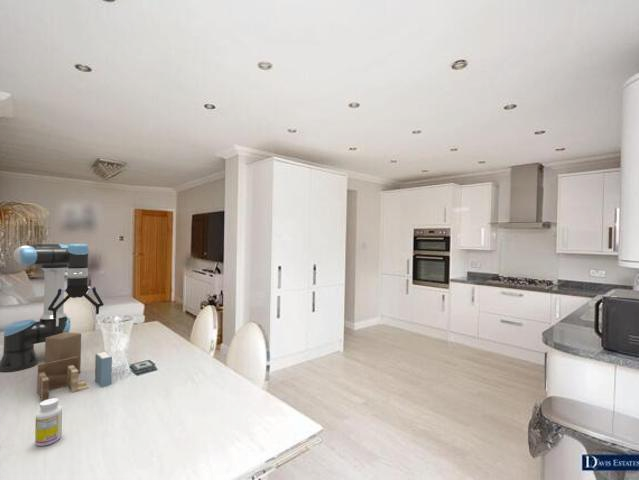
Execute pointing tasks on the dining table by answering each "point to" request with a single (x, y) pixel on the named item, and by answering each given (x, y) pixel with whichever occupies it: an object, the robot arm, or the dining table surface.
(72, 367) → the bookend
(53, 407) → the supplement bottle
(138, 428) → the dining table surface
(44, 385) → the shelf corner
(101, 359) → the book box
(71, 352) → the wooden block
